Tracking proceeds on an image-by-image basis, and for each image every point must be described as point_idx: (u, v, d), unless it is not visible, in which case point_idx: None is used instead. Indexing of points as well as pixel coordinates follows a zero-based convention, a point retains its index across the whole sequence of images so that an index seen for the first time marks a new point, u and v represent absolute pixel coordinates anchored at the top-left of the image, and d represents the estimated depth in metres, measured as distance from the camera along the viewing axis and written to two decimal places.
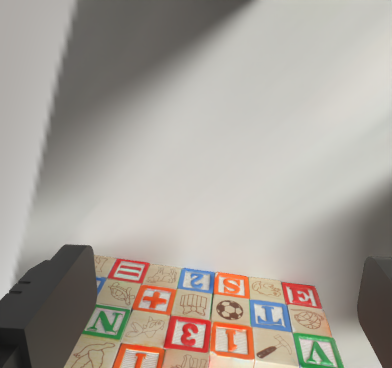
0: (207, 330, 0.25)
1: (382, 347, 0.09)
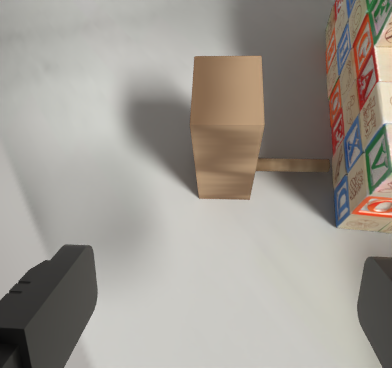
0: None
1: (382, 347, 0.09)
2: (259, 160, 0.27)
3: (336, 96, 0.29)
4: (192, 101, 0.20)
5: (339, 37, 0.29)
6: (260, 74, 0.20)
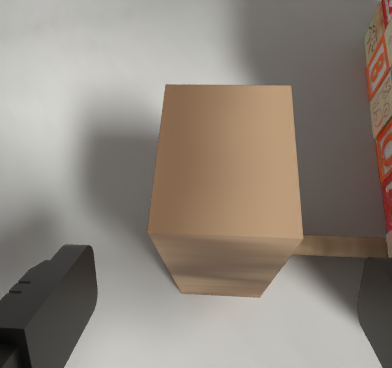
0: None
1: (382, 347, 0.09)
2: None
3: (391, 139, 0.19)
4: (155, 178, 0.10)
5: None
6: (290, 123, 0.10)
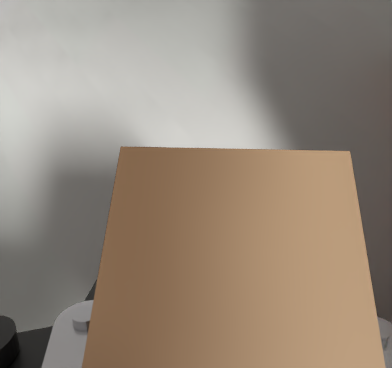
0: None
1: None
2: None
3: None
4: (87, 360, 0.05)
5: None
6: (356, 232, 0.05)
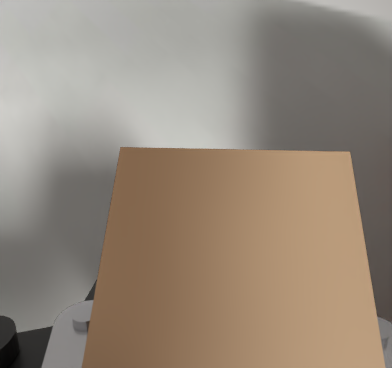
0: None
1: None
2: None
3: None
4: (86, 361, 0.05)
5: None
6: (356, 232, 0.05)
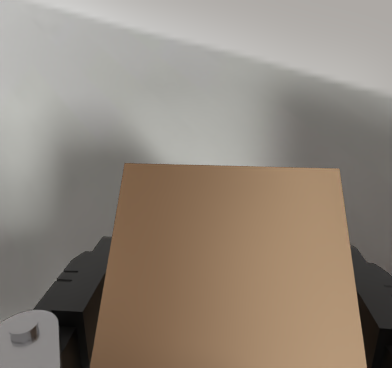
0: None
1: None
2: None
3: None
4: (94, 364, 0.05)
5: None
6: (343, 245, 0.06)
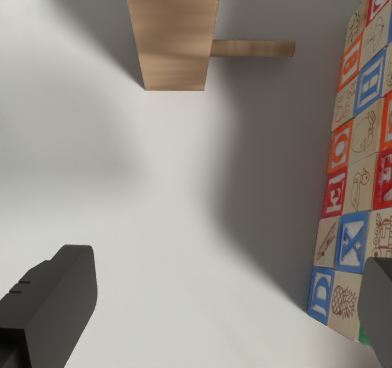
0: None
1: (382, 347, 0.09)
2: (214, 42, 0.23)
3: (343, 141, 0.22)
4: None
5: (367, 58, 0.21)
6: None
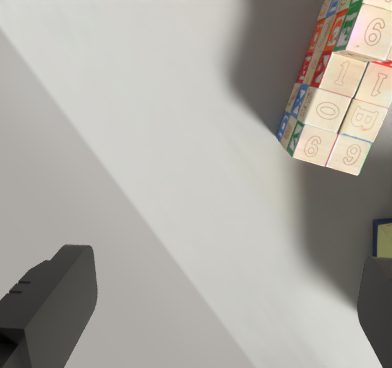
0: None
1: (382, 347, 0.09)
2: None
3: (318, 32, 0.33)
4: None
5: None
6: None
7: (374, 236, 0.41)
